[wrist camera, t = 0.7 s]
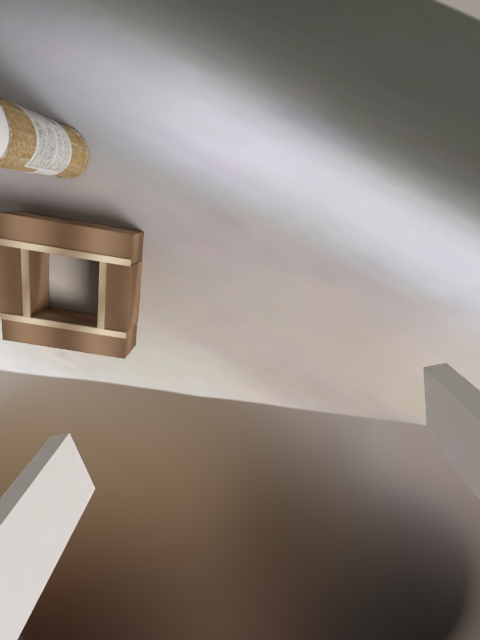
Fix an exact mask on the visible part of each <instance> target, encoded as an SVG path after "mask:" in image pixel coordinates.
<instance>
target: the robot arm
mask: <svg viewBox="0 0 480 640" xmlns="http://www.w3.org/2000/svg"><path fill="white" fill-rule="evenodd" d="M424 385H425V403H426V421H427V433H428V434H429V435H430V437H431V438H432V439H433V441H434V442H435V443H436V445H437V446H438V447H439V448H440V450H441V451H442V452H443V454H444V455H445V456H446V457H447V459H448V460H449V461H450V463H451V464H452V465H453V467H454V468H455V469H456V471H457V472H458V473H459V474H460V476H461V477H462V478H463V480H464V481H465V482H466V484H467V485H468V486H469V487H470V489H471V490H472V491H473V493H474V494H475V495H476V497H477V498H478V499H479V500H480V391H479V390H478V389H477V388H476V387H474V386H473V385H472V384H471V383H470V382H468V381H467V380H466V379H465V378H464V377H462V376H461V375H460V374H459V373H458V372H456V371H455V370H454V369H453V368H452V367H450V366H449V365H448V364H447V363H444V364H439V365H433V366H428V367H424ZM94 490H95V487H94V485H93V483H92V481H91V479H90V476H89V474H88V472H87V470H86V468H85V466H84V463H83V461H82V459H81V457H80V455H79V453H78V451H77V448H76V446H75V444H74V442H73V440H72V438H71V435H70V433H67V434H61V435H56V436H51V437H50V438H49V439H48V441H47V442H46V443H45V444H44V445H43V447H42V448H41V449H40V450H39V451H38V453H37V454H36V455H35V456H34V458H33V459H32V460H31V461H30V463H29V464H28V465H27V466H26V467H25V469H24V470H23V471H22V472H21V474H20V475H19V476H18V477H17V479H16V480H15V481H14V482H13V483H12V485H11V486H10V487H9V488H8V490H7V491H6V492H5V493H4V495H3V496H2V497H1V498H0V640H17V639H18V637H19V635H20V633H21V631H22V630H23V628H24V626H25V624H26V622H27V620H28V618H29V616H30V614H31V612H32V610H33V608H34V606H35V604H36V602H37V600H38V598H39V596H40V595H41V593H42V591H43V589H44V587H45V585H46V583H47V581H48V579H49V577H50V575H51V573H52V571H53V569H54V567H55V565H56V564H57V561H58V560H59V558H60V556H61V554H62V552H63V550H64V548H65V546H66V544H67V542H68V540H69V538H70V536H71V535H72V533H73V531H74V529H75V527H76V525H77V523H78V521H79V519H80V517H81V515H82V513H83V511H84V509H85V507H86V505H87V504H88V501H89V500H90V498H91V496H92V494H93V492H94Z"/></svg>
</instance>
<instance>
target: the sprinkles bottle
mask: <svg viewBox="0 0 480 640" xmlns="http://www.w3.org/2000/svg"><path fill="white" fill-rule="evenodd" d="M88 153H89V151H88V148H87V145H86V143H85V141H84V139H83V138H82V136H81V135H80V134H79V133H78V132H77V131H76V130H74V129H73V128H71V127H69V126H66V125H60V124H58V123H57V122H55V121H53V120H51V119H49V118H47V117H45V116H43V115H40V114H38V113H36V112H33V111H31V110H29V109H26V108H24V107H22V106H19V105H17V104H15V103H13V102H10V101H7V100H3V99H1V98H0V167H2V168H7V169H14V170H20V171H24V172H28V173H35V174H42V175H54V176H58V177H61V178H65V179H69V178H74V177H76V176H78V175H80V174H81V173H82V172H83V171H84V170H85V168H86V166H87V163H88V158H89V154H88Z"/></svg>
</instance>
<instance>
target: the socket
mask: <svg viewBox="0 0 480 640" xmlns="http://www.w3.org/2000/svg"><path fill="white" fill-rule="evenodd" d="M143 235H144V232H141V231H135V230H129V229H123V228H117V227H111V226H105V225H99V224H93V223H87V222H81V221H75V220H69V219H63V218H57V217H51V216H45V215H39V214H34V213H28V212H22V211H14V212H0V310H1V313H0V317H1V319H2V333H3V340H9V341H15V342H21V343H28V344H34V345H41V346H47V347H54V348H60V349H66V350H73V351H79V352H86V353H92V354H98V355H105V356H111V357H118V358H124V359H125V358H126V356H127V355H128V354H129V353H130V351H131V350H132V349H133V348H134V346H135V345H136V331H137V321H138V312H139V299H140V285H141V271H142V249H143ZM49 253H51V254H57V255H63V256H69V257H75V258H81V259H88V260H94V261H100V264H99V293H98V315H93V314H87V313H81V312H75V311H68V310H62V309H56V308H49Z"/></svg>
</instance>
